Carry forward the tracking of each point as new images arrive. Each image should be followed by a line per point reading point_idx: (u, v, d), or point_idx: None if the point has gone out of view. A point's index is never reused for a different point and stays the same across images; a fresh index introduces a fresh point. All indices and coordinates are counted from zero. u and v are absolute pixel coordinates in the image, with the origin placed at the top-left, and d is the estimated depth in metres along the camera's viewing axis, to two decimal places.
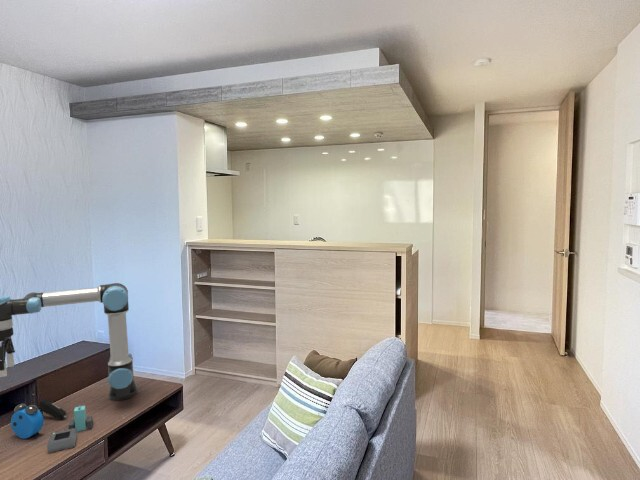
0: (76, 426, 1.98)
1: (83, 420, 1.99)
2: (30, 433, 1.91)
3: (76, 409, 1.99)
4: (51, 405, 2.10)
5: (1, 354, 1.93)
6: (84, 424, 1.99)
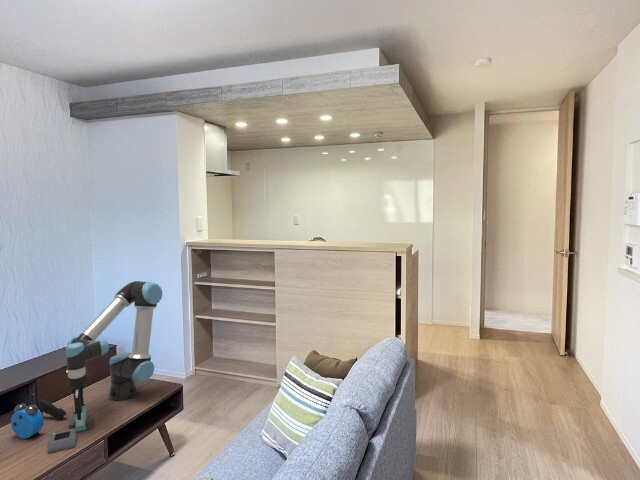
0: (76, 426, 1.98)
1: (83, 420, 1.99)
2: (30, 433, 1.91)
3: None
4: (51, 405, 2.10)
5: (78, 405, 1.95)
6: (84, 424, 1.99)
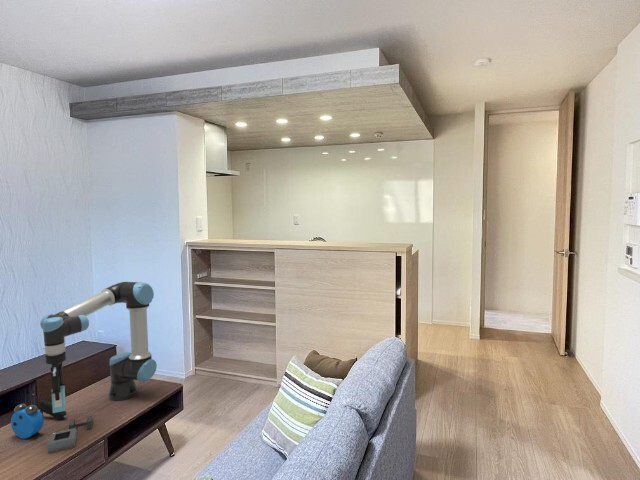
0: (54, 407, 1.83)
1: None
2: (30, 433, 1.91)
3: None
4: (51, 405, 2.10)
5: (56, 384, 1.80)
6: (62, 405, 1.84)
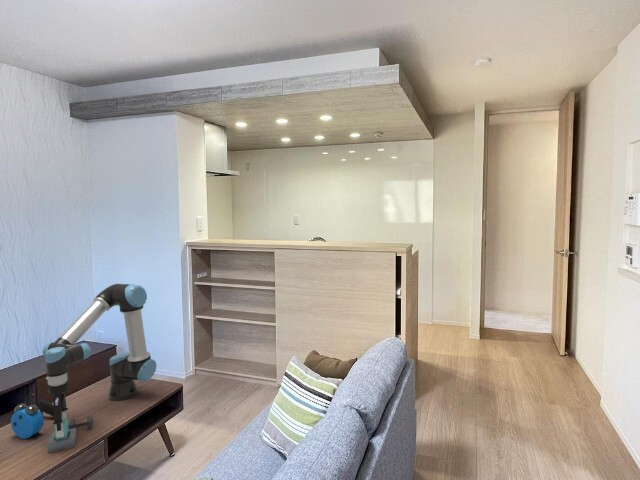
0: None
1: (64, 434, 1.86)
2: (30, 433, 1.91)
3: None
4: (51, 405, 2.10)
5: (58, 414, 1.79)
6: None
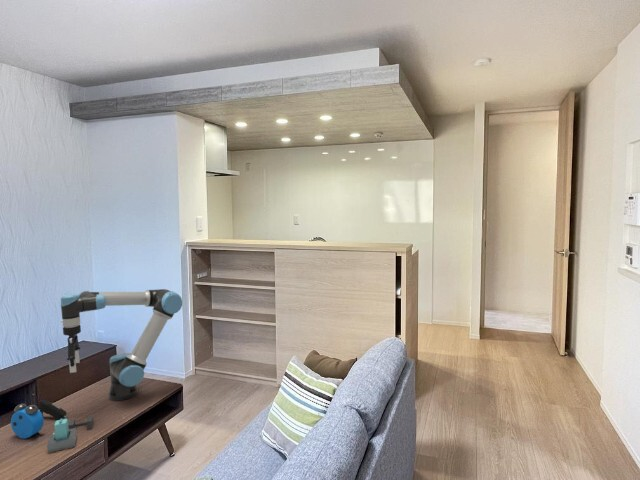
0: None
1: (64, 434, 1.86)
2: (30, 433, 1.91)
3: (57, 423, 1.86)
4: (51, 405, 2.10)
5: (72, 350, 1.99)
6: None
